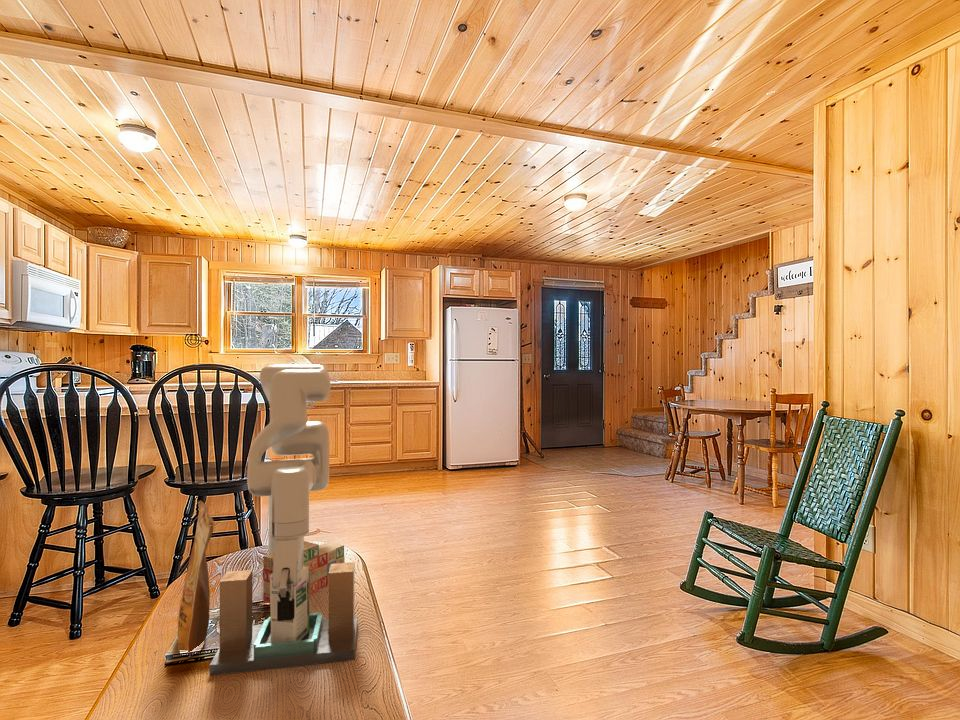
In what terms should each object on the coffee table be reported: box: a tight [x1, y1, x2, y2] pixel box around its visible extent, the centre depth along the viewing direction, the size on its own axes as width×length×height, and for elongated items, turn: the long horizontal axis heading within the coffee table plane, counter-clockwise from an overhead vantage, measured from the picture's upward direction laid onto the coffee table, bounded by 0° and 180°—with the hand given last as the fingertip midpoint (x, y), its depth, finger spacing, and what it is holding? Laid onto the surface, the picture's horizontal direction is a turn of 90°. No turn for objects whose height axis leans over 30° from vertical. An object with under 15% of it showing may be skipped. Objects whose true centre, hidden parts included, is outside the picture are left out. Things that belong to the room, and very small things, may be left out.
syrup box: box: [269, 565, 310, 643], centre depth 107 cm, size 6×6×14 cm
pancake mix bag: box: [177, 500, 215, 652], centre depth 110 cm, size 7×19×28 cm, turn 27°
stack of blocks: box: [262, 540, 346, 603], centre depth 133 cm, size 21×6×12 cm, turn 149°
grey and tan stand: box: [208, 562, 359, 676], centre depth 107 cm, size 14×27×16 cm, turn 101°
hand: (290, 608), depth 107 cm, fingers open, 9 cm apart
